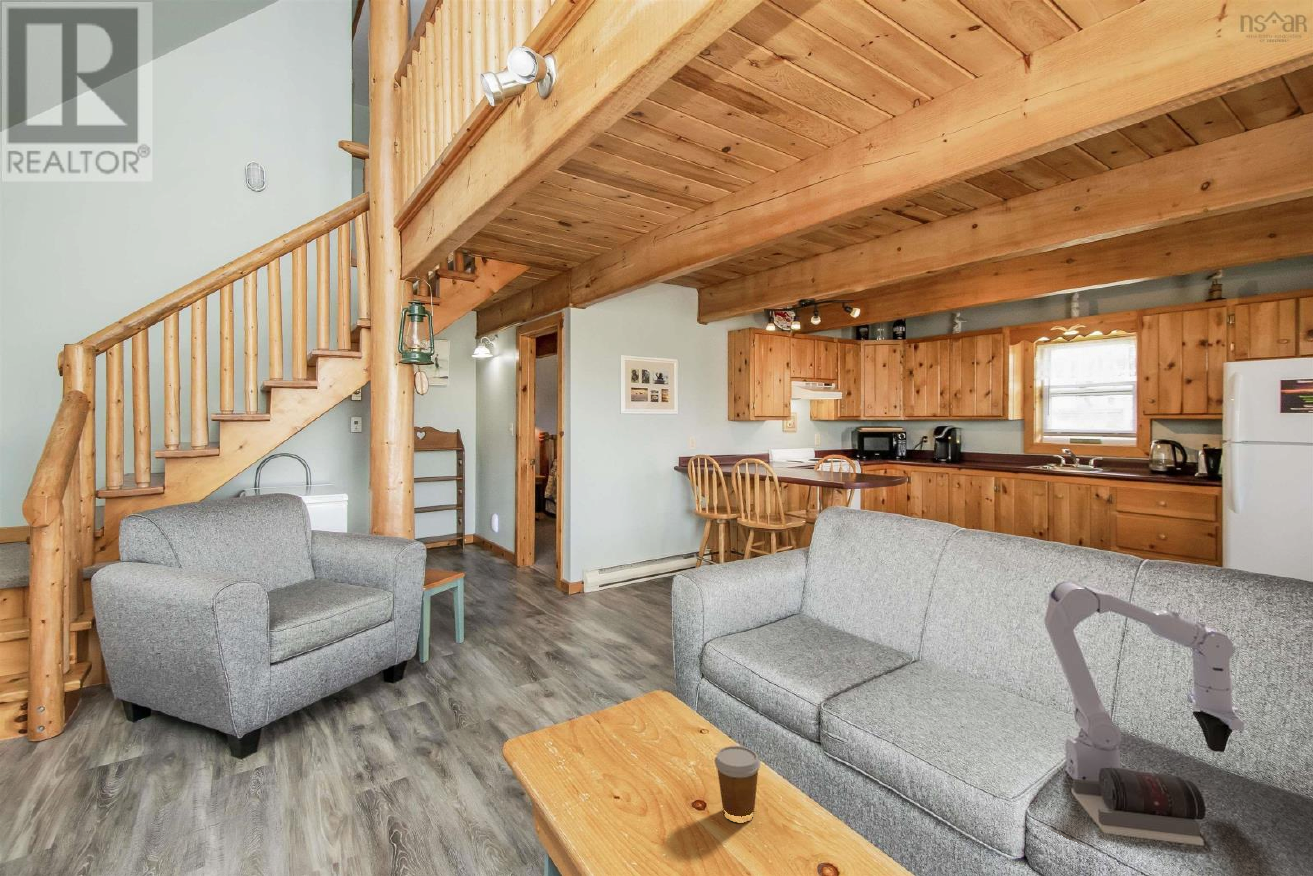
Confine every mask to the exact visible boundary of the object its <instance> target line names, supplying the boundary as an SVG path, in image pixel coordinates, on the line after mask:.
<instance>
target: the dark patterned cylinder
mask: <svg viewBox="0 0 1313 876" xmlns="http://www.w3.org/2000/svg"><path fill="white" fill-rule="evenodd" d="M1099 786H1100V792H1101V795H1102V798H1103V801H1104V803H1105V804H1106V806H1107V807H1108V808H1109V809H1110V810H1114V811H1123V812H1131V813H1140V814H1148V815H1157V816H1166V817H1174V818H1183V819H1191V820H1198V821H1199V820H1204V819H1205V818H1206V813H1207V812H1206V811H1207V809H1206V804H1205V800H1204V796H1203V795H1202V792H1201V790H1200V789H1199V787H1198V785H1196V783H1194V782H1193V781H1191V780H1189V779H1183V778H1182V777H1180V776H1175V775H1171V774H1167V773H1166V774H1165V773H1155V772H1154V773H1153V772H1143V771H1137V770H1136V771H1135V770H1132V769H1127V768H1121V767H1120V768H1112V767H1110V768H1101V769H1100V772H1099Z"/></svg>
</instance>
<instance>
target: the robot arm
mask: <svg viewBox="0 0 1313 876" xmlns="http://www.w3.org/2000/svg"><path fill="white" fill-rule="evenodd" d="M1096 612H1097V613H1098V614H1099V615H1100V614H1101V615H1102V614H1105V613H1108V612H1111V613H1114V614H1118V615H1120V616H1123V617H1125V618H1128V619H1130V620H1134V621H1137V622H1139V623H1141V624H1144V625H1146V626H1147V627H1148V628H1149V630H1150V631H1151V633H1152V634H1153V635H1156V636H1159V637H1161V638H1164V639H1166V640H1168V641H1171V642H1173V643H1176V644H1178V645H1181V646H1183V647H1184V648H1189V649H1191V653H1192V655H1191V656H1192V669H1193V670H1192V671H1193V687H1194V688H1193V691H1194V693H1193V692H1186V701H1187V702H1188V703H1190V704H1193V706H1194V707H1195V708H1196V709H1197V710H1199V711H1197V710H1195V711H1192V715H1193V717H1194V718H1195V719H1196V721H1197V723H1198V724H1199V727H1200V729H1201V732H1202V734H1203V737H1204V739H1205V743H1206V745H1207V748H1208V749H1209V750H1211V751H1213V752H1217V753H1218V752H1219V753H1225V750H1226V747H1227V743H1228V740H1229V739H1230V736H1231V734H1232V732H1233V731H1241V732H1245V722H1244V720H1242V719H1241V718H1240V717H1239V716H1238V714H1239V713H1240V709H1239V708H1237V707H1236V706H1233V699H1232V684H1231V668H1230V659H1231V658H1232V657H1233V656H1234V655H1235V653H1236V650H1237V649H1236V646H1234V645H1233V641H1232V640H1231V639H1230V638H1229V637H1228V636H1227V635H1226V634H1224V633H1222V632H1220V631H1217V630H1216V629H1213V628H1211V627H1210V626H1208V625H1206V624H1205V623H1203V622H1201V621H1196V622H1195V621H1193V620H1190V619H1187V618H1185V617H1183V616H1180V613H1179V612H1177V611H1175V610H1172V609H1169V610H1164V609H1161V610H1157V611H1151V610H1149V609H1147V608H1144V607H1142V606H1140V605H1138V604H1134V603H1133V602H1130V601H1128V600H1125V599H1123V598H1120V597H1118V596H1116V595H1113V594H1111V593H1109V592H1106V591H1103V590H1100V589H1098V588H1094V587H1091V586H1088V585H1083V584H1082V585H1079V583H1077V582H1073V581H1069V580H1063V581H1061V582H1058V583H1057V584H1055V586H1054V587H1053V589H1051V591H1050V592H1049V594H1048V604H1047V609H1046V613H1045V617H1044V625H1045V628H1046V630H1047V633H1048V636H1049V639H1050V641H1051V644H1052V645H1053V646H1052V647H1053V648H1054V650H1055V653H1056V656H1057V658H1058V661H1059V664H1060V666H1061V669H1062V671H1063V674H1064V677H1065V678H1066V682H1067V684H1068V686H1069V689H1070V693H1071V694H1072V697H1073V699H1072V703H1073V704H1074V720H1075V722H1076V724H1077V725H1078V727H1080V730H1079V732H1078V737H1075V738H1068V739H1066V740H1065V745H1064V746H1065V749H1064V750H1065V763H1066V765H1065V767H1066V768H1065V769H1064V770H1065V772H1066V773H1067V774H1068V775H1069V777H1070V778H1072V780H1073V779H1079V780H1088V781H1098V782H1099V772H1100V769H1101V768H1110V767H1112V768H1121V763H1120V760H1121V759H1120V747H1119V746H1120V745H1121V743H1122V741H1123V733H1122V731H1121V729H1120V727H1119V726H1118V725H1117V724H1116V723H1115V722H1114V721H1112V719H1111V716H1110V714H1109V712H1108V710H1107V708H1106V707H1105V705H1104V703H1103V702H1102V700H1101V698H1100V694H1099V692H1098V689H1097V688H1096V685H1095V683H1094V681H1093V677H1092V675H1091V673H1090V670H1089V668H1088V665H1087V662H1086V660H1085V658H1084V656H1083V652H1082V650H1081V647H1080V645H1079V642H1078V640H1077V637H1076V635H1075V633H1074V630H1075V629H1076V628H1077V626H1078V625H1079V624H1080V623H1082V622H1083V621H1084V620H1086V619H1088V618H1089V617H1091V616H1092V615H1094V614H1095V613H1096Z"/></svg>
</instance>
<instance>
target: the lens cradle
mask: <svg viewBox="0 0 1313 876" xmlns="http://www.w3.org/2000/svg"><path fill="white" fill-rule="evenodd" d="M1072 785H1073V787H1071V793H1072V795H1073V797H1074V798H1075V799H1076V800H1077V802H1079V804H1080V805H1081V807H1083V809H1084V810H1085V812H1087V813H1088V815H1089V816H1090V817H1091V819H1092V820H1093V821H1094V822H1095V824H1096V825H1097V826H1098V828H1100V830H1101V831H1102V832H1103V834H1109V835H1117V836H1124V837H1132V838H1139V839H1148V840H1157V841H1163V842H1172V843H1179V844H1189V845H1196V846H1204V845H1205V843H1204V839H1203V838H1202V837H1201V835H1200V822H1199V821H1197V819H1195V820H1191V819H1183V818H1174V817H1166V816H1157V815H1148V814H1140V813H1131V812H1123V811H1114V810H1110V809H1109V808H1108V807H1107V806H1106V804H1105V803H1104V801H1103V798H1102V795H1101V792H1100V786H1099V782H1098V781H1088V780H1079V779H1072Z"/></svg>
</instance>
